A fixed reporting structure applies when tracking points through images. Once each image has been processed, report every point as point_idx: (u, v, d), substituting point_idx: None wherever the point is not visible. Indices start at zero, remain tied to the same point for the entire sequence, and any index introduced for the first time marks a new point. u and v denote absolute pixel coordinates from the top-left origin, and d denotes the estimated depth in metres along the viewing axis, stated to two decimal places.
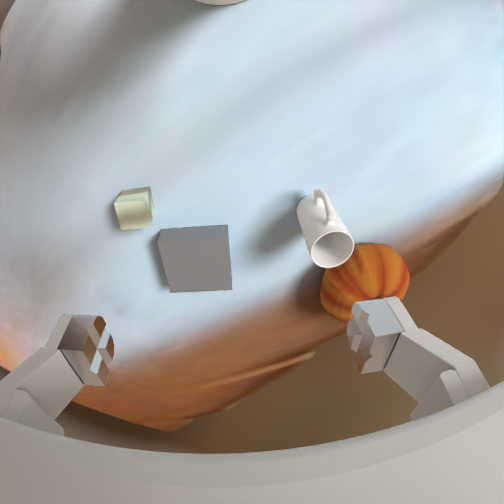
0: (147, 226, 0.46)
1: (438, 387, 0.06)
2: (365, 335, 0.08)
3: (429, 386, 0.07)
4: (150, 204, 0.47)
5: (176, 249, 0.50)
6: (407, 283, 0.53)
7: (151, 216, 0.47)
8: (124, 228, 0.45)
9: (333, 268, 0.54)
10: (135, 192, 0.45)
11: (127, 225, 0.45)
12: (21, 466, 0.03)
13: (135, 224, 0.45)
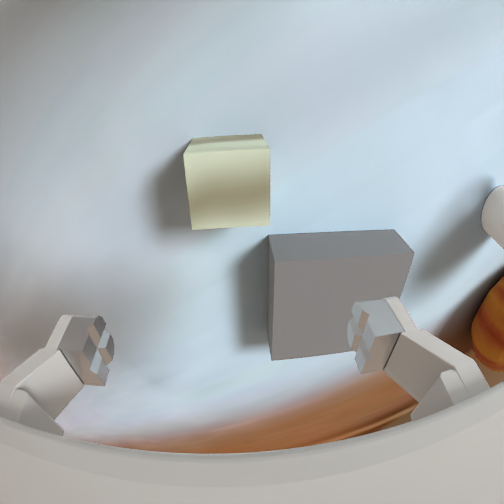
0: (266, 221, 0.19)
1: (438, 387, 0.06)
2: (365, 335, 0.08)
3: (429, 386, 0.07)
4: None
5: (314, 277, 0.23)
6: None
7: None
8: (202, 225, 0.19)
9: None
10: (232, 139, 0.19)
11: (211, 217, 0.19)
12: (21, 466, 0.03)
13: (234, 216, 0.19)
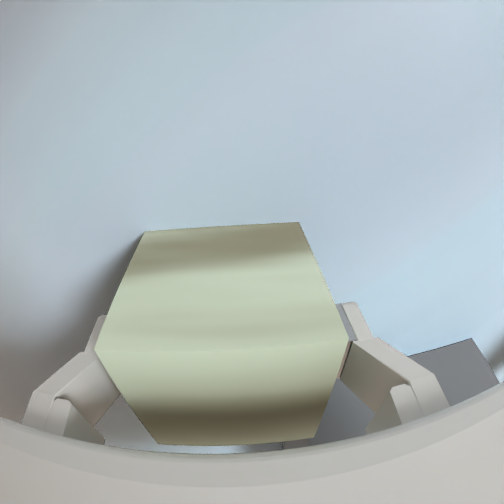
0: (307, 435, 0.08)
1: (388, 402, 0.06)
2: None
3: None
4: None
5: None
6: None
7: None
8: (177, 442, 0.08)
9: None
10: (232, 254, 0.08)
11: (194, 437, 0.07)
12: (21, 466, 0.03)
13: (242, 436, 0.07)
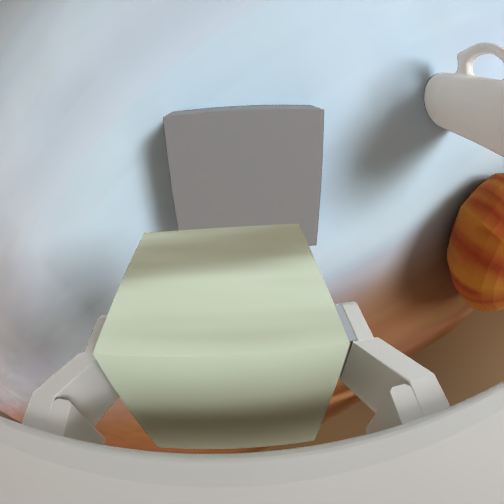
0: (307, 438, 0.08)
1: (388, 402, 0.06)
2: None
3: None
4: None
5: (206, 134, 0.21)
6: None
7: None
8: (176, 445, 0.08)
9: (480, 205, 0.25)
10: (232, 257, 0.08)
11: (194, 440, 0.07)
12: (21, 466, 0.03)
13: (243, 439, 0.07)
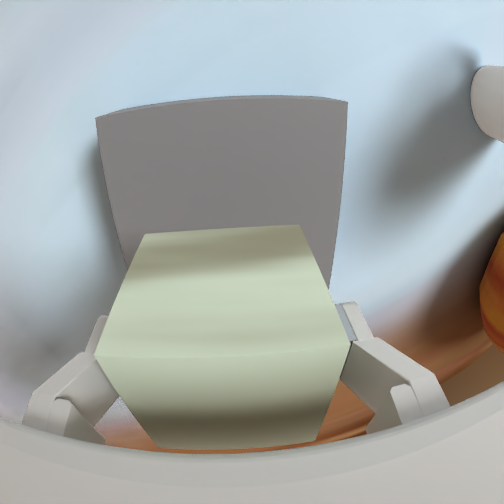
0: (308, 438, 0.08)
1: (388, 402, 0.06)
2: None
3: None
4: None
5: (159, 141, 0.13)
6: None
7: None
8: (178, 445, 0.08)
9: None
10: (233, 259, 0.08)
11: (195, 441, 0.07)
12: (21, 466, 0.03)
13: (243, 440, 0.07)
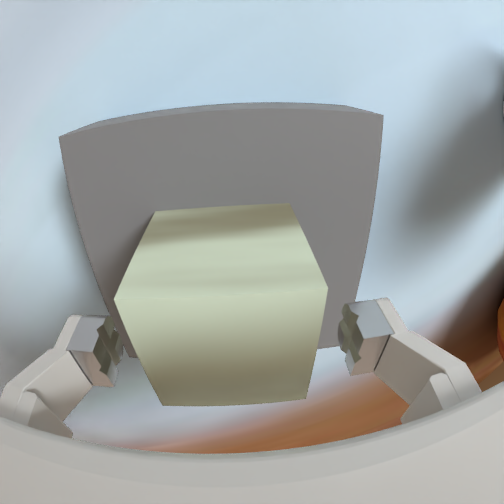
0: (299, 395, 0.09)
1: (428, 391, 0.06)
2: (355, 336, 0.08)
3: (420, 389, 0.07)
4: None
5: (139, 166, 0.10)
6: None
7: None
8: (180, 401, 0.09)
9: None
10: (231, 228, 0.09)
11: (196, 395, 0.09)
12: (21, 466, 0.03)
13: (240, 394, 0.09)
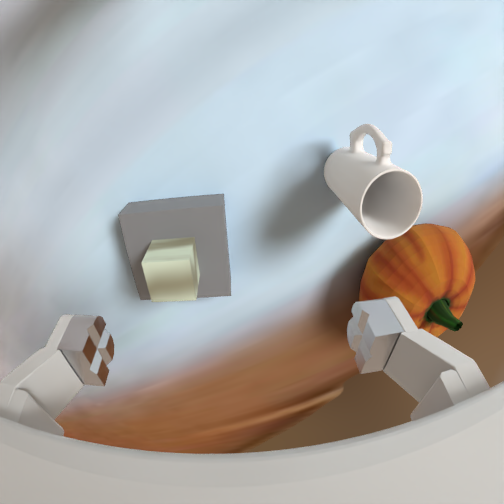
0: (193, 298, 0.31)
1: (438, 387, 0.06)
2: (365, 335, 0.08)
3: (429, 386, 0.07)
4: (196, 264, 0.33)
5: (146, 226, 0.32)
6: (474, 276, 0.33)
7: (197, 281, 0.33)
8: (157, 299, 0.31)
9: (379, 258, 0.35)
10: (173, 245, 0.31)
11: (162, 295, 0.31)
12: (21, 466, 0.03)
13: (174, 295, 0.31)
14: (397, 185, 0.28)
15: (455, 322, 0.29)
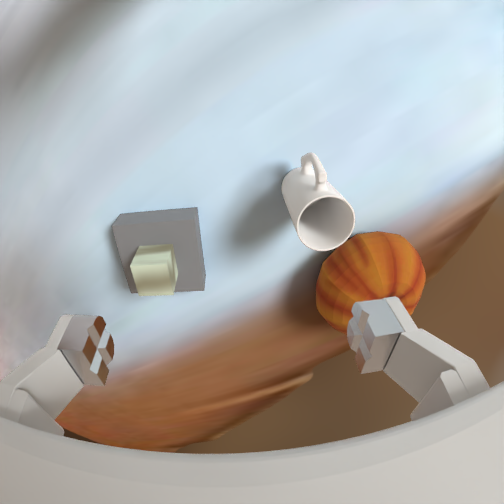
0: (171, 293, 0.39)
1: (438, 387, 0.06)
2: (365, 335, 0.08)
3: (429, 386, 0.07)
4: (174, 266, 0.41)
5: (134, 235, 0.39)
6: (423, 280, 0.41)
7: (175, 279, 0.41)
8: (143, 294, 0.38)
9: (330, 262, 0.43)
10: (155, 251, 0.39)
11: (146, 291, 0.38)
12: (21, 466, 0.03)
13: (156, 291, 0.38)
14: (339, 203, 0.35)
15: None
